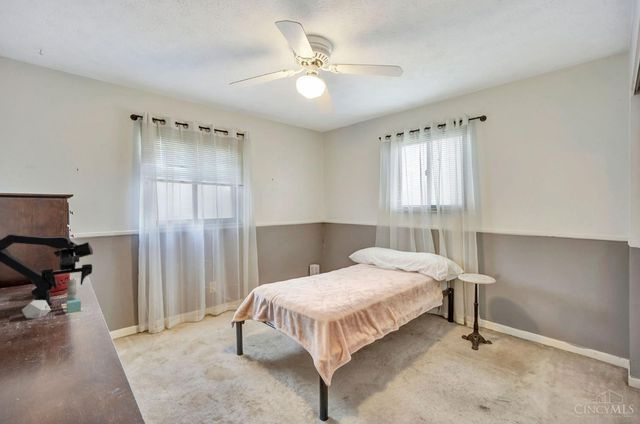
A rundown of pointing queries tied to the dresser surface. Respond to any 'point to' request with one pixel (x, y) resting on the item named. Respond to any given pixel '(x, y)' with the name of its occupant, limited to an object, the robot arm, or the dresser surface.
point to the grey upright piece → (70, 295)
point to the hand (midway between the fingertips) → (68, 286)
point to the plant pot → (60, 284)
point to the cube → (73, 306)
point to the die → (36, 309)
